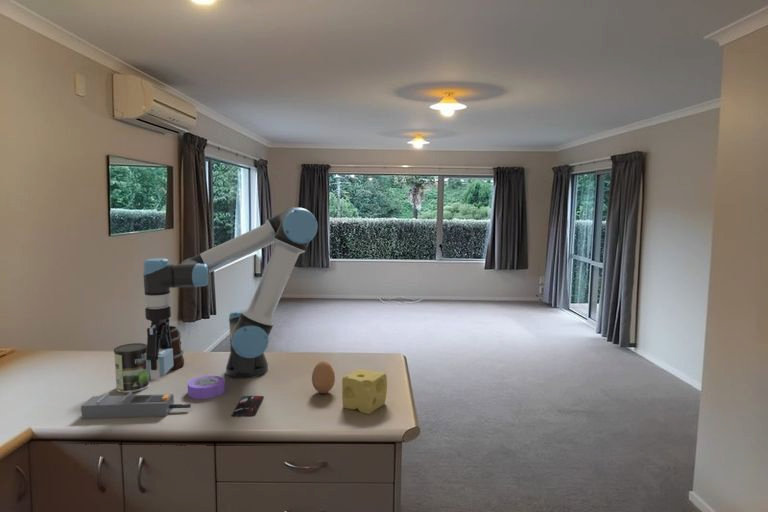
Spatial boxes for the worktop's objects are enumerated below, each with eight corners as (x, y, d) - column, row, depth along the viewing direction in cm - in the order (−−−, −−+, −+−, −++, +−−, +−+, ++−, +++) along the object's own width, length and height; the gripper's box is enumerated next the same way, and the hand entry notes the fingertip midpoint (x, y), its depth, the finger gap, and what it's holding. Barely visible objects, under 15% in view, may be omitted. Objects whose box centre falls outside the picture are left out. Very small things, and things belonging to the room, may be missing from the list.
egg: (325, 386, 176) (325, 356, 174) (339, 392, 170) (339, 361, 169) (307, 392, 170) (306, 361, 169) (321, 399, 165) (321, 366, 164)
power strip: (193, 405, 160) (193, 390, 159) (187, 415, 153) (186, 399, 152) (93, 408, 157) (92, 393, 156) (82, 418, 150) (80, 402, 150)
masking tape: (183, 390, 172) (183, 379, 172) (218, 383, 179) (217, 372, 179) (193, 402, 163) (193, 390, 162) (229, 393, 170) (229, 382, 169)
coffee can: (156, 383, 179) (154, 343, 177) (136, 394, 169) (133, 352, 167) (130, 380, 181) (127, 342, 179) (109, 391, 171) (106, 350, 169)
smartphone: (230, 416, 152) (242, 395, 167) (230, 418, 152) (242, 397, 167) (255, 415, 152) (264, 395, 167) (255, 417, 152) (264, 397, 167)
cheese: (369, 415, 153) (369, 383, 152) (340, 407, 159) (340, 376, 158) (387, 403, 162) (387, 373, 161) (359, 396, 168) (359, 366, 167)
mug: (176, 372, 190) (174, 332, 188) (144, 371, 191) (142, 332, 189) (194, 358, 205) (192, 322, 204) (165, 357, 206) (163, 321, 204)
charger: (173, 365, 173) (172, 347, 172) (164, 375, 164) (163, 356, 163) (156, 366, 172) (155, 347, 171) (146, 375, 163) (145, 356, 162)
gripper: (157, 299, 176) (160, 363, 178) (132, 314, 154) (135, 386, 157) (180, 299, 176) (182, 362, 179) (158, 314, 155) (161, 385, 158)
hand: (160, 373), depth 168 cm, fingers closed on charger, 9 cm apart
